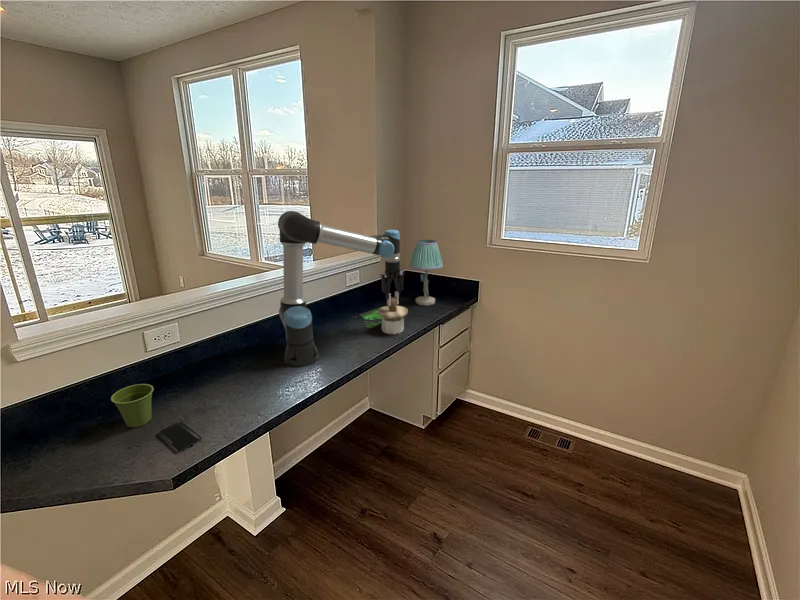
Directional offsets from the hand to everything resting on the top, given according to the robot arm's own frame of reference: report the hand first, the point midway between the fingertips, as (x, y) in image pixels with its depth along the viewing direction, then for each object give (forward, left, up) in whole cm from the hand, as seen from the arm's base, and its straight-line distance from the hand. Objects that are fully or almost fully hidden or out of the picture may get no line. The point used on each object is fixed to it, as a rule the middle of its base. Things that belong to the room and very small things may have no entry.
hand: (392, 304), depth 203 cm
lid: (0, 0, -5) cm, 5 cm away
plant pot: (-113, -30, -15) cm, 118 cm away
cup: (0, 0, -15) cm, 15 cm away
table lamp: (+40, +31, -15) cm, 53 cm away
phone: (-101, -46, -15) cm, 112 cm away
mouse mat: (-1, +21, -15) cm, 26 cm away
